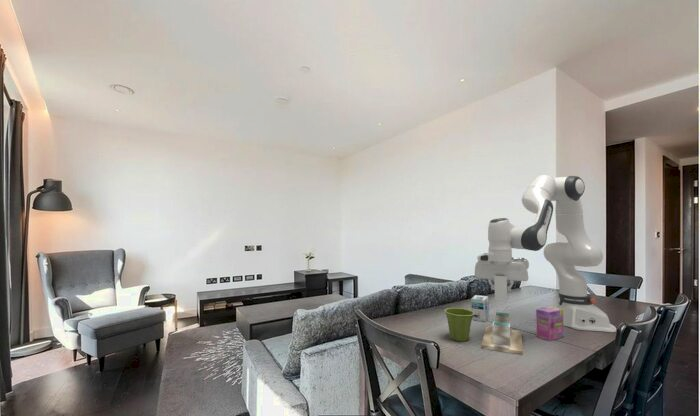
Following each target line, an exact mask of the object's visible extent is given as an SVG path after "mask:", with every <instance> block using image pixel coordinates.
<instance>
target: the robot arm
mask: <svg viewBox="0 0 700 416" xmlns="http://www.w3.org/2000/svg"><path fill="white" fill-rule="evenodd" d="M585 187H586V185H585V182H584V180H583V179H582V178H581V177H580V176H578V175H577V176H576V175H569V176H557V177H552V176H551V175H548V174H541V175H538V176H536V177H535V178H534V179H533V180H532V181H531V182H530V183H529V185H528V186H527V187H526V189H525V191H524V192H523V194H522V197H521V204H522V206H523V207H524V208H525V209H526V210H527V211H528V212H530V213H532V214H536V216H535V220H534V222H533V224H531V225H526V226H523V225H522V226H521V225H520V226H517V225H514V224H512V223H511V222H510V220H509V218H507V217H505V218H504V217H502V218H501V217H500V218H494V219H493V218H492V219H491V220H490V221H489V223H488V226H487V227H488V230H487V238H488V239H487V240H488V244H489V245H488V250H487V252H484V253H482V254H479V255H477V258H476V259H477V262H476V263H475V267H474V277H475V278H477V279H484V280H485V279H488V284H489V285H490V286H491V287H490V289H491V291H495V284H493V283H492V282H493V280H494V275H505V276H507V281H509V283H510V284H509V286H508V285H507V292H512V287H513V285H514V283H515V282H514V281H516V282H527V281H529V272H528V269H529V267H530V262H529V261H528V259H526V258H524V257H513V250H512V249H515V250H526V251H534V252H538V251H541V249H543V256H544V258H545V260H546V261H547V262H548V263H550V265H551V266H552V267H553V269H554V270H555V272H556V275H557V278H558V291H559V292H558V295H557V296H558V297H557V298H558V305H559V307H558V308H561V309H563V323H564V327H568V328H571V329H574V330H580V331H591V332H593V331H594V332H605V333H616V332H617V331H616V330H617V328H616V325H613V324H611V323H610V319H609V317H608V314H607V313H606V312H604V311H603V310H601V308H599V307H597V306H596V305H595V304H596V298H594V297H591V296H589V295H588V283H587V282H588V281H587V279H586V277H585V276H583V275H582V274H581V273H579V272H578V270H577V269H576V267H582V268H583V267H584V268H588V267H590V268H591V267H598V266H599V265H600V264H602V261H603V260H604V254H603V251H602V249H601V248H600V247H599V246H598V245H596V243H594V242H592V240H591V239H590V238H589V236H588V234H587V233H586V229H585V224H584V211H583V205H582V201H581V197H582V196H583V194H584V193H585V189H586V188H585ZM553 202H555V207H554V204H553ZM554 209H555V228H556V231H557V232H558V233H559V234H561V235H563V236H564V237H565V238H566V240H567V242H558V241H556V242H551V243H547V238H548V231H549V227H550V224H551V220H552V217H553V212H554ZM575 266H576V267H575Z"/></svg>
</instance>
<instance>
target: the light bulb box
mask: <svg viewBox="0 0 700 416" xmlns="http://www.w3.org/2000/svg"><path fill="white" fill-rule="evenodd" d="M470 299H471V311H473V312H474V315H473V317H472V320H471V321H478V322H484V323H485V322H487V321H488V319H489V318H490V302H489V296H486V295H479V294H475V295H474V296H472V297H471V298H470Z"/></svg>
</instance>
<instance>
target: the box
mask: <svg viewBox="0 0 700 416" xmlns="http://www.w3.org/2000/svg"><path fill="white" fill-rule="evenodd" d="M535 316H536V317H535V318H536V319H535V321H536V322H535V323H536V337H537V338H539V339H542V340H546V341H549V342H551V341H554V340H558V339H561V338H564V337H565V328H564V327H565V326H564V323H563V309H561V308H559V307H555V306H551V305H550V306H545V307H541V308H540V307H539V308H536V309H535Z"/></svg>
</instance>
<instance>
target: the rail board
mask: <svg viewBox="0 0 700 416" xmlns="http://www.w3.org/2000/svg"><path fill="white" fill-rule="evenodd" d="M511 321H512V320H511V314H510V313H507V312H498V311H497V312H495V313H494V321H492V326H485V330H484V334H483V338H482V341H481V345H480V347H481V349H484V350H491V351H496V352H497V351H498V352H504V353H508V354H509V353H510V354H514V355H515V354H516V355H520V356H523V352H524V350H523V337H522V330H517V329H511V327H512V326H511V325H512V323H511Z"/></svg>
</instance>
